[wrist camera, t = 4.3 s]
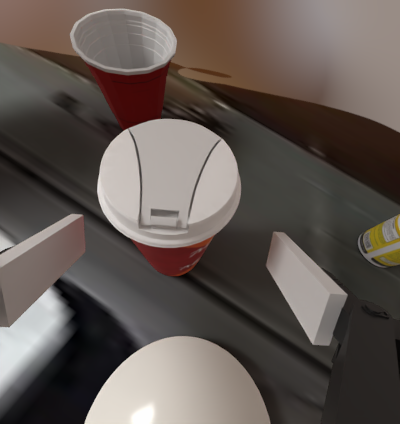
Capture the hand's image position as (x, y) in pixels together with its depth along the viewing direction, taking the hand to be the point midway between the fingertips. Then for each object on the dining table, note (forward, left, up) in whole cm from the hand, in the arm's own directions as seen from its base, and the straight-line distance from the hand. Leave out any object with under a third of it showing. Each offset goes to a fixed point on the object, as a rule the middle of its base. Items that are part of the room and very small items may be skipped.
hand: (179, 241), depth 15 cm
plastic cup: (-8, +21, -10) cm, 25 cm away
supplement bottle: (+24, +4, -10) cm, 27 cm away
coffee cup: (-1, +2, -10) cm, 10 cm away
